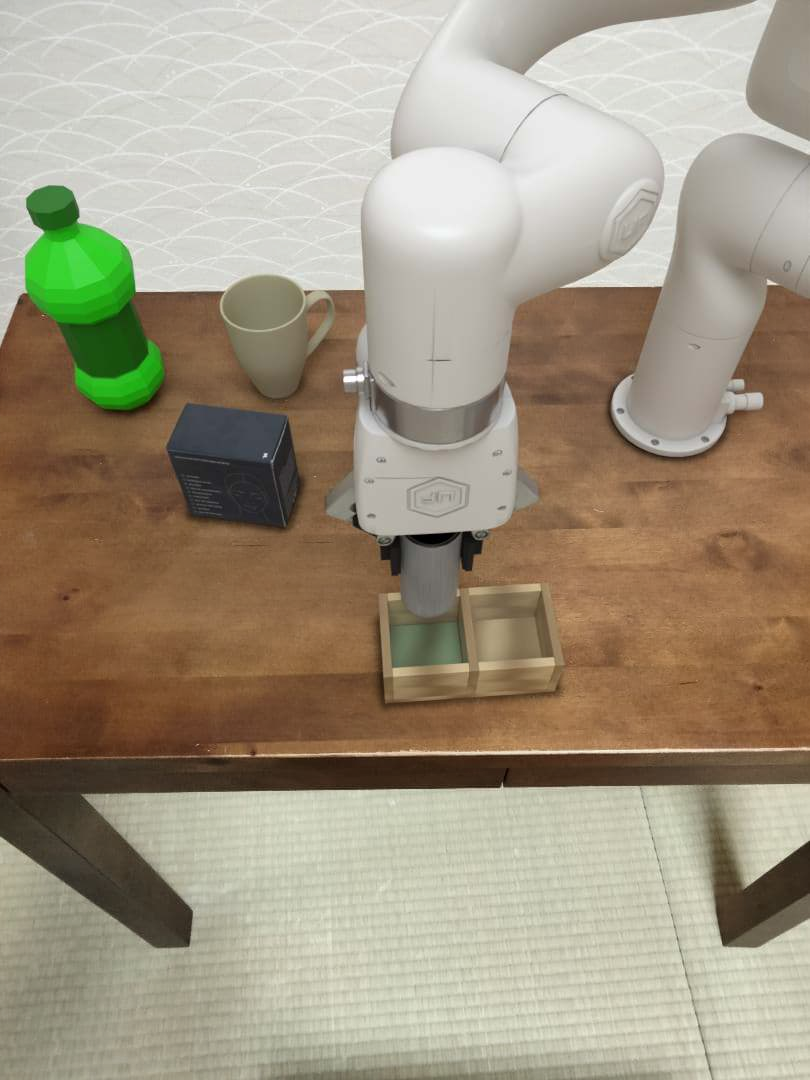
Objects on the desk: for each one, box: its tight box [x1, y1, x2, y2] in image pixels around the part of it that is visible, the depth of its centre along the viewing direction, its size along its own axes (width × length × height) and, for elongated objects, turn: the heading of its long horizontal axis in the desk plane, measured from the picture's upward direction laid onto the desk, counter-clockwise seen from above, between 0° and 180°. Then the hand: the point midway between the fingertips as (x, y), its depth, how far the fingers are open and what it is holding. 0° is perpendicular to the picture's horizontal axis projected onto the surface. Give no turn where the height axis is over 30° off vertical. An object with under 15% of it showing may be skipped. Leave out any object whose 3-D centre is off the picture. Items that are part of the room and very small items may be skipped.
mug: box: [219, 273, 336, 400], centre depth 90 cm, size 11×10×12 cm
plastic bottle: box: [24, 184, 165, 411], centre depth 84 cm, size 10×10×25 cm
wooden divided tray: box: [377, 582, 565, 704], centre depth 73 cm, size 15×8×6 cm, turn 94°
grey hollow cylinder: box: [399, 531, 463, 618], centre depth 61 cm, size 4×4×10 cm
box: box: [165, 402, 301, 528], centre depth 82 cm, size 11×7×10 cm, turn 80°
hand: (430, 555), depth 61 cm, fingers closed on grey hollow cylinder, 4 cm apart
